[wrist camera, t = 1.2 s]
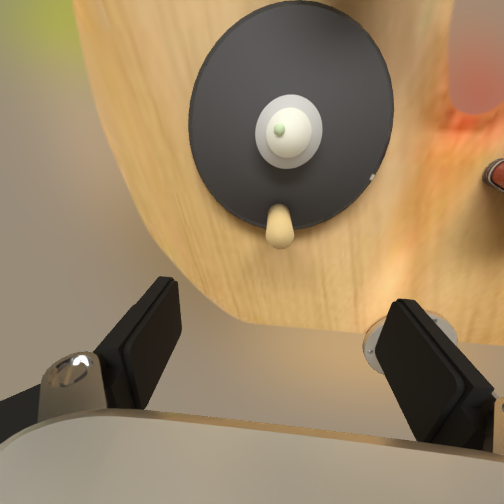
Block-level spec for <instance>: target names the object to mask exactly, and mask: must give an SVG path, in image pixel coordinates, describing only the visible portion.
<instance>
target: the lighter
mask: <svg viewBox="0 0 504 504" xmlns="http://www.w3.org/2000/svg"><path fill="white" fill-rule="evenodd" d="M482 178H483V181H484V182H485V183H486V184H488V185H489V186H491V187H493V188H494V189H496V190H498V191H500V192H503V193H504V159H503V158H502V159H496V160H494V161H492V162H491V163H490V164H489V165H488V166H487V167H486V168H485V170H484V172H483V176H482Z"/></svg>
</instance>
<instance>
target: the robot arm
mask: <svg viewBox="0 0 504 504" xmlns="http://www.w3.org/2000/svg"><path fill="white" fill-rule="evenodd" d="M181 331H182V325H181V314H180V303H179V291H178V282H177V281H174V279H173V278H172V277H162V276H160V277H158V278H157V279H156V281H155V282H154V283H153V284H152V286H151V287H150V288H149V289H148V290H147V291H146V293H145V294H144V295H143V296H142V297H141V298H140V300H139V301H138V302H137V303H136V304H135V305H133V306H132V307H131V308H130V310H128V312H127V313H126V314H125V315H124V316H123V318H122V319H121V320H120V321H119V322H118V323H117V324H116V326H115V327H114V328H113V329H112V330H111V332H110V333H109V334H108V335H107V336H106V337H105V339H104V340H103V341H102V342H101V343H100V345H99V346H98V347H97V348H96V349H95V350H94V351H93V352H88V351H84V352H77V353H73V354H70V355H68V356H65V357H63V358H61V359H60V360H58V361H57V362H55V363H54V364H53V365H52V366H51V367H49V368H48V369H47V371H46V372H45V374H44V375H43V377H42V380H41V384H39V385H36V386H34V387H32V388H30V389H27V390H25V391H23V392H20V393H18V394H16V395H14V396H11V397H9V398H7V399H5V400H2V401H0V504H504V397H499V396H498V395H497V394H496V393H495V392H494V387H493V386H492V385H491V384H490V383H489V382H488V381H487V380H486V379H485V377H484V376H483V375H482V374H481V373H480V372H479V371H478V370H477V369H476V368H475V367H474V365H473V364H472V363H471V362H470V361H469V360H468V359H467V358H466V356H465V355H464V354H463V353H462V352H461V351H460V350H459V349H458V348H457V342H458V338H457V333H456V331H455V329H454V328H453V327H452V326H451V324H450V323H449V322H448V321H447V320H445V319H444V318H443V317H442V316H440V315H438V314H436V313H433V312H429V311H424V310H423V309H422V308H421V306H420V305H419V304H418V303H417V302H416V301H415V300H410V299H397V300H396V302H393V303H392V304H391V307H390V309H389V312H388V315H387V317H385V318H383V319H381V320H380V321H378V322H377V323H376V324H375V325H373V326H372V327H371V328H370V330H369V331H368V332H367V334H366V336H365V338H364V341H363V352H364V355H365V358H366V360H367V362H368V364H369V365H370V366H371V367H372V368H373V369H374V370H376V371H377V372H379V373H381V374H383V375H385V377H386V379H387V381H388V382H389V385H390V387H391V389H392V391H393V393H394V395H395V397H396V399H397V401H398V403H399V406H400V408H401V409H402V412H403V414H404V416H405V418H406V420H407V422H408V424H409V426H410V428H411V430H412V433H413V435H414V437H415V439H416V441H409V440H401V439H392V438H385V437H376V436H369V435H361V434H352V433H345V432H336V431H327V430H320V429H311V428H303V427H295V426H286V425H277V424H269V423H261V422H252V421H244V420H235V419H226V418H217V417H208V416H200V415H191V414H182V413H171V412H160V411H150V410H144V409H145V407H146V406H147V404H148V402H149V400H150V398H151V396H152V394H153V392H154V390H155V388H156V386H157V383H158V381H159V379H160V377H161V375H162V373H163V371H164V369H165V367H166V365H167V362H168V360H169V358H170V356H171V354H172V352H173V350H174V348H175V346H176V343H177V341H178V339H179V337H180V335H181Z"/></svg>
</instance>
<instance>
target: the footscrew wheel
mask: <svg viewBox="0 0 504 504" xmlns="http://www.w3.org/2000/svg"><path fill="white" fill-rule="evenodd" d="M390 119H391V95H390V89H389V83H388V79H387V76H386V72H385V69H384V66H383V64H382V62H381V59H380V57H379V55H378V53H377V51H376V50H375V48H374V47H373V45H372V44H371V42H370V41H369V39H368V38H367V37H366V36H365V35H364V34H363V33H362V32H361V31H360V30H359V28H358V27H356V26H355V25H354V24H352V23H351V22H350V21H348V20H347V19H346V18H344V17H342V16H340V15H338V14H336V13H334V12H333V11H330V10H327V9H324V8H320V7H317V6H309V5H286V6H281V7H277V8H273V9H269V10H267V11H264V12H262V13H260V14H257V15H255V16H254V17H252V18H250V19H249V20H247V21H245V22H244V23H242V24H241V25H240V26H238V27H237V28H236V29H235V30H234V31H232V32H231V33H230V34H229V35H228V36H227V37H226V39H225V40H224V41H223V42H222V43H221V44H220V45H219V47H218V48H217V49H216V51H215V52H214V54H213V55H212V57H211V58H210V60H209V62H208V64H207V66H206V68H205V69H204V71H203V74H202V77H201V79H200V82H199V84H198V88H197V92H196V96H195V100H194V107H193V115H192V131H193V141H194V147H195V151H196V156H197V159H198V162H199V165H200V168H201V170H202V172H203V174H204V176H205V178H206V180H207V182H208V183H209V185H210V186H211V188H212V189H213V191H214V192H215V193H216V194H217V196H218V197H219V198H220V199H221V200H222V201H223V202H224V203H225V204H226V205H227V206H228V207H230V208H231V209H232V210H234V211H235V212H236V213H238V214H240V215H241V216H243V217H245V218H247V219H249V220H251V221H254V222H256V223H260V224H263V225H267V228H266V240H267V242H268V244H269V245H270V246H271V247H273V248H276V249H284V248H286V247H288V246H289V245H290V244H291V243H292V242H293V239H294V232H293V227H295V226H302V225H306V224H311V223H313V222H316V221H319V220H322V219H324V218H326V217H328V216H330V215H332V214H333V213H335V212H336V211H338V210H339V209H341V208H342V207H344V206H345V205H346V204H347V203H348V202H350V201H351V200H352V199H353V198H354V197H355V196H356V195H357V194H358V193H359V192H360V191H361V189H362V188H363V187H364V186H365V184H366V183H367V182H368V180H369V179H370V177H371V176H372V174H373V172H374V171H375V169H376V167H377V165H378V163H379V161H380V159H381V156H382V154H383V151H384V148H385V145H386V142H387V138H388V133H389V128H390Z"/></svg>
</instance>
